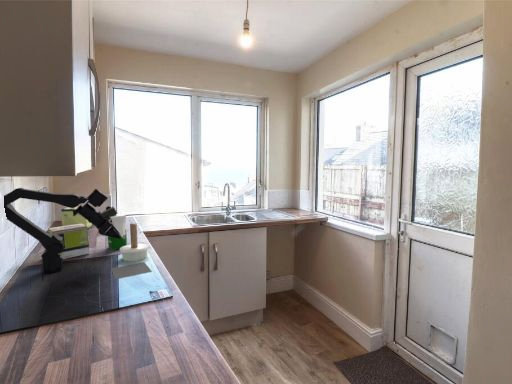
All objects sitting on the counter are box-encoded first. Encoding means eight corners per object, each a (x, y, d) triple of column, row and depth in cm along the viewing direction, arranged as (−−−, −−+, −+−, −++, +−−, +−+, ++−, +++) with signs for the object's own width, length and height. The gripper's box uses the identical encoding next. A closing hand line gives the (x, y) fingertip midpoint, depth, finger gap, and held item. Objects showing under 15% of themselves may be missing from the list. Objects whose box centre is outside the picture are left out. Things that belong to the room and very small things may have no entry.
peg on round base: (133, 254, 131) (131, 227, 130) (113, 250, 136) (112, 225, 135) (154, 247, 142) (153, 222, 141) (135, 243, 148) (134, 220, 147)
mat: (115, 280, 113) (115, 279, 113) (110, 269, 125) (110, 268, 125) (152, 272, 121) (152, 271, 121) (144, 263, 133) (144, 262, 133)
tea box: (84, 250, 153) (82, 222, 152) (89, 254, 146) (88, 225, 144) (50, 256, 143) (48, 227, 141) (54, 261, 135) (52, 230, 134)
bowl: (124, 263, 132) (124, 253, 132) (120, 257, 141) (120, 248, 141) (149, 258, 138) (149, 249, 138) (144, 253, 148) (143, 244, 147)
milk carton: (106, 247, 157) (104, 211, 155) (122, 244, 164) (121, 209, 162) (112, 251, 151) (110, 213, 149) (129, 247, 158) (127, 211, 156)
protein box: (87, 230, 198) (86, 208, 196) (62, 231, 194) (60, 209, 193) (92, 227, 208) (91, 206, 206) (68, 228, 204) (66, 206, 203)
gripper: (105, 203, 123) (134, 226, 130) (104, 199, 140) (130, 219, 146) (85, 223, 120) (115, 245, 127) (86, 216, 137) (113, 236, 143)
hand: (119, 235), depth 136 cm, fingers open, 9 cm apart
